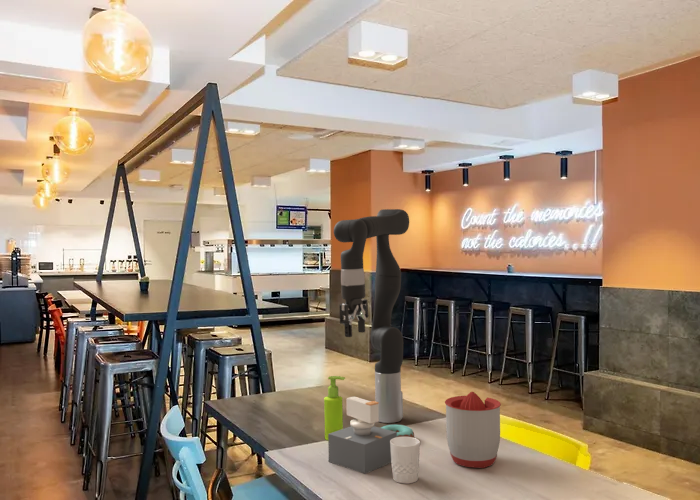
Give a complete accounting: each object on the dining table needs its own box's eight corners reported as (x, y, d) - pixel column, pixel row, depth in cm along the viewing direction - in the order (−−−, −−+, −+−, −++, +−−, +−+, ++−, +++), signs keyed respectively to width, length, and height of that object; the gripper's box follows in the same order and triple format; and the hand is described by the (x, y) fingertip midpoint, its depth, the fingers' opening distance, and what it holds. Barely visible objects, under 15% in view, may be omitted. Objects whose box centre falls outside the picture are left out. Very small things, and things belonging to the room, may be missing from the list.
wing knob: (341, 423, 171) (340, 397, 171) (360, 418, 175) (359, 393, 175) (365, 432, 162) (364, 405, 162) (384, 427, 167) (383, 401, 167)
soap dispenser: (344, 441, 185) (343, 378, 185) (322, 440, 187) (321, 378, 187) (347, 436, 191) (346, 374, 191) (327, 434, 193) (326, 374, 193)
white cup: (388, 473, 159) (388, 437, 159) (417, 472, 159) (416, 435, 159) (393, 485, 151) (392, 446, 151) (423, 484, 152) (422, 445, 152)
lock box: (361, 448, 179) (360, 416, 179) (397, 459, 169) (396, 425, 169) (328, 461, 168) (328, 426, 168) (365, 473, 159) (364, 437, 159)
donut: (371, 437, 190) (370, 425, 190) (404, 433, 194) (404, 421, 194) (385, 449, 178) (385, 436, 178) (420, 444, 183) (420, 431, 183)
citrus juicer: (506, 454, 172) (505, 386, 172) (496, 475, 157) (495, 400, 157) (454, 447, 179) (453, 382, 179) (439, 467, 163) (438, 395, 163)
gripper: (353, 281, 192) (355, 330, 192) (331, 285, 179) (333, 337, 180) (374, 281, 188) (376, 331, 188) (352, 285, 176) (354, 339, 176)
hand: (355, 334), depth 184 cm, fingers open, 8 cm apart
